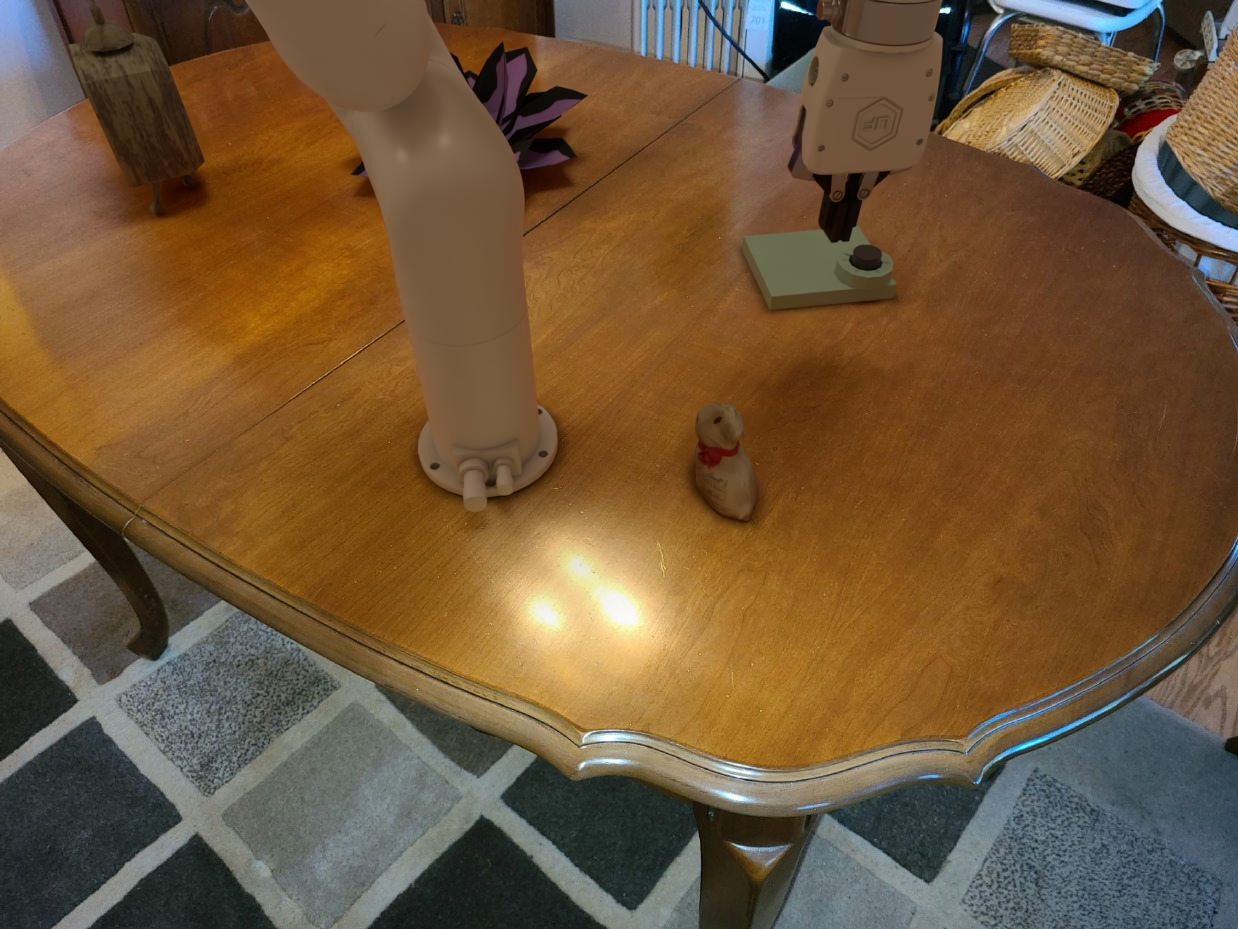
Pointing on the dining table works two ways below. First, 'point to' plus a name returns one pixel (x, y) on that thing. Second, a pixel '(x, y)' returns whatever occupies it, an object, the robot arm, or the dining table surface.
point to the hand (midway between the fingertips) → (834, 233)
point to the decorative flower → (519, 107)
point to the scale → (814, 270)
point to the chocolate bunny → (724, 462)
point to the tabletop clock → (137, 105)
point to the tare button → (866, 257)
